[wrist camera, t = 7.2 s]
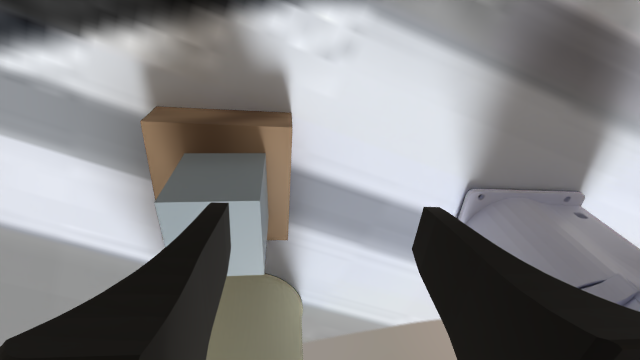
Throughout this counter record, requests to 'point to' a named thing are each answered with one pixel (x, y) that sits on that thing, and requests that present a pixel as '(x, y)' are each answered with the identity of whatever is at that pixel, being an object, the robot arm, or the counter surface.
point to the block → (221, 187)
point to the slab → (224, 148)
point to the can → (257, 320)
